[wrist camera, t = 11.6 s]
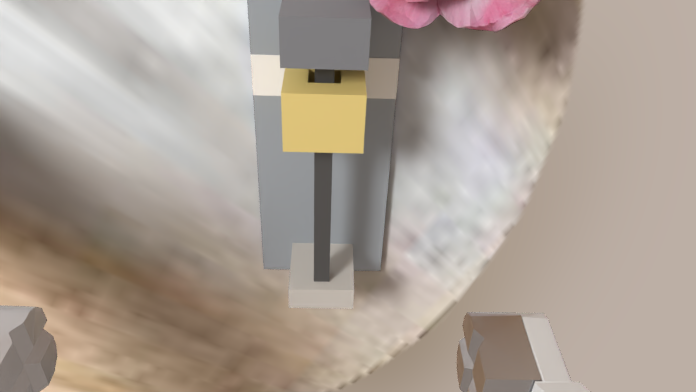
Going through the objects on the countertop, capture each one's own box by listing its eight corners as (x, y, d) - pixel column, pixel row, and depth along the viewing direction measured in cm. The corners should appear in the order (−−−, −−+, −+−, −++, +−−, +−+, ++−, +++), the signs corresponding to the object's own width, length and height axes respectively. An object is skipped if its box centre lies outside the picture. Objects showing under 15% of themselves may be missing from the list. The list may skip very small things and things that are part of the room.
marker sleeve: (287, 112, 42) (282, 151, 38) (286, 58, 40) (280, 93, 36) (360, 114, 42) (363, 153, 38) (363, 60, 40) (366, 95, 36)
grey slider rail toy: (264, 264, 53) (255, 325, 47) (246, -33, 38) (230, 5, 32) (379, 266, 53) (385, 327, 48) (406, -28, 38) (418, 11, 33)
